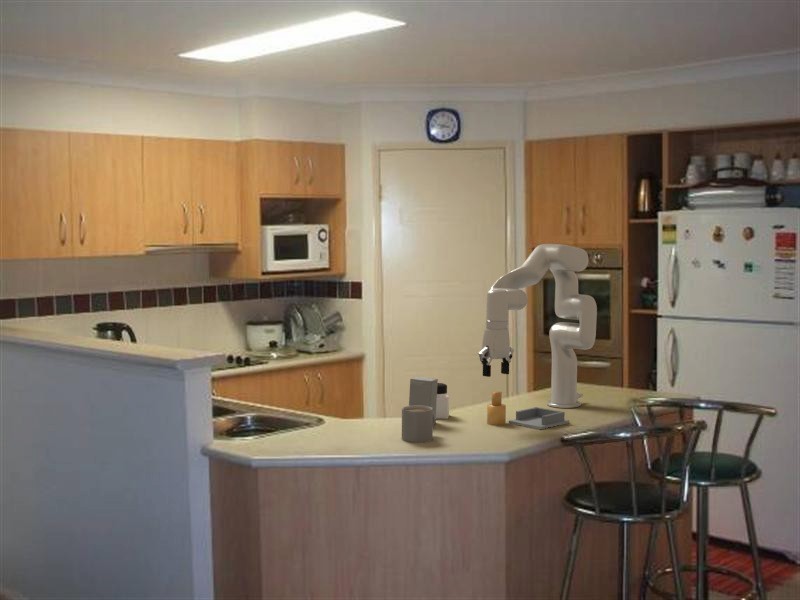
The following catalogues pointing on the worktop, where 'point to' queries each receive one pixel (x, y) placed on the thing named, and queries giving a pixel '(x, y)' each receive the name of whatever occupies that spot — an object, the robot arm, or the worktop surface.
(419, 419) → the coffee mug
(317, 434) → the worktop surface
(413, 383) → the skincare box
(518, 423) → the u rest
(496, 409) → the amber bottle
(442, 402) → the medicine bottle
